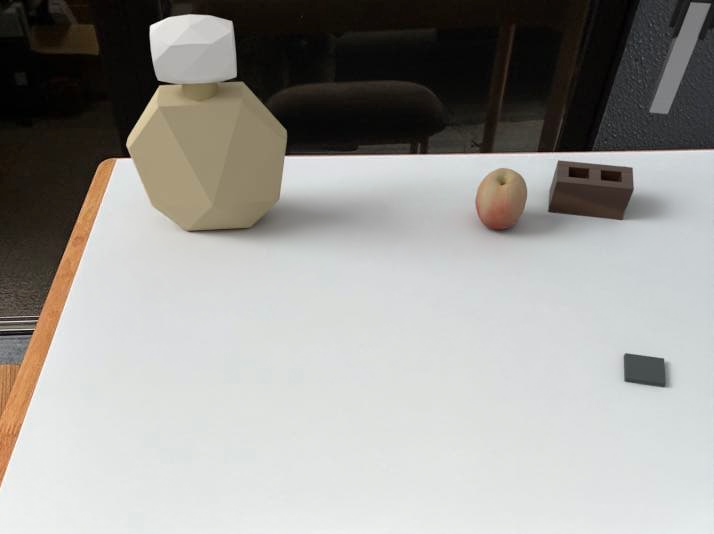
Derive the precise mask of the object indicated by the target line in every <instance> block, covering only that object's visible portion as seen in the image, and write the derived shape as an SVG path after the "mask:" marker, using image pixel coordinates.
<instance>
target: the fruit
mask: <svg viewBox="0 0 714 534" xmlns="http://www.w3.org/2000/svg"><path fill="white" fill-rule="evenodd" d="M527 198H528V187H527V182H526V180H525V178H524V177H523V176H522V174H520V173H519V172H518V171H516V170H514V169H511V168H509V167H499V168H496V169H494V170H492V171H490V172H489V173H488V174H487V175H485V177H484V178H483V179H482V180H481V182H480V183H479V185H478V187H477V191H476V196H475V200H474V201H475V202H474V203H475V210H476V213H477V216H478V218H479V220H480V222H481V223H482V225H483V226H485V227H486V228H488V229H490V230H504V229H507V228H510V227H512V226H513V225H515V224H516V223H517V222H518V221H519V219H520V218H521V217H522V215H523V213H524V211H525V209H526V203H527Z"/></svg>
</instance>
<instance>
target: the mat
mask: <svg viewBox="0 0 714 534" xmlns="http://www.w3.org/2000/svg"><path fill="white" fill-rule="evenodd" d="M623 379H624V382H626V383H632V384H641V385H647V386H655V387H660V388H665V387H666V385H667V377H666V365H665V358H664V357H657V356H650V355H643V354H637V353H636V354H635V353H628V352H625V353H624V355H623Z"/></svg>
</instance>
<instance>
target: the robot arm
mask: <svg viewBox="0 0 714 534" xmlns="http://www.w3.org/2000/svg"><path fill="white" fill-rule="evenodd" d="M690 3H691V0H675V1H674V3H673V6H672V9H671V11H670V14H669V15H670V16H669V17H668V19H667V20H668V21H667V28H670V29H669V32H670V38H671V39H673V38H676V37H678V35H679V33H680V30H681V27H682V25H683V22H684V19H685V17H686V14H687V11H688V9H689V6H690ZM713 30H714V0H713V1H712V3H711V6H710V8H709V11H708V14H707V16H706V19H705V21H704V24H703V26H702V29H701V31H700V34H699V36H698V39H697V40H698V41H705V39H706V36H707V34H708V31H713Z"/></svg>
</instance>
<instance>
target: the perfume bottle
mask: <svg viewBox="0 0 714 534" xmlns="http://www.w3.org/2000/svg"><path fill="white" fill-rule="evenodd" d="M234 30H235V29H234V24H233V21H232V20H228V19H226V18H221V17H218V16H214V15H209V14H190V13H189V14H183V15H176V16H169V17H166V18H164V19H161V20H160V21H157V22H155V23H153V24H151V25H149V44H150V53H151V59H152V65H153V70H154V73H155V77H156V79H157V81H160V82H164V83H170V84H163V85H161V84H160V85H158V88H157V89H156V91H155V92H154V94H153V96H152V97H151V99H150V101H149V102H148V104H147V105H146V107H145V109H144V111H142V114H141V115H140V117H139V119H138V120H137V122H136V124H135V125H134V127H133V128H132V130H131V132H130V133H129V135H128V137H127V140H126V144H125V146H126V148H127V150H128V153H129V155H130V158H131V161H132V163H133V165H134V168H135V169H136V172H137V174H138V175H137V176H138V177H139V179H140V182H141V184H142V187H143V190H144V192H145V193H146V196H147V198H148V200H149V203H150V205H151V206H152V207H153V208H154V209H155V210H157V211H158V212H160V214H163V215H164V216H165V217H166V218H168V219H169V220H171V222H173V223H175V224H176V225H177V226H179V227H180V228H181V229H183V230H184V231H206V230H207V231H208V230H226V229H228V230H229V229H249V228H253V226H254V225H255V224H256V223H258V221H259V220H260V219H261V218H262V217H264V215H265V214H267V213H268V211H270V210H271V208H273V207H274V206H275V205H276V204H277V202H278V201H280V199H281V190H282V183H283V174H284V167H285V159H286V149H287V141H288V131H287V129H286V128H285V127H284V126H283V125H282V123H280V121H279V120H278V118H276V117H275V115H273V113H272V112H271V111H270V110H269V109H268V108H267V107H266V106H265V105H264V104H263V103H262V101H261V100H260V99H259V98H258V97H257V96H256V95H255V93H253V90H251V89H250V88H249V87H248V85H246V84H245V82H244V81H229V80H232V79H234V78H237V75H238V74H237V73H238V67H237V52H236V51H237V50H236V39H235V31H234ZM226 81H228V82H226Z"/></svg>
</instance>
